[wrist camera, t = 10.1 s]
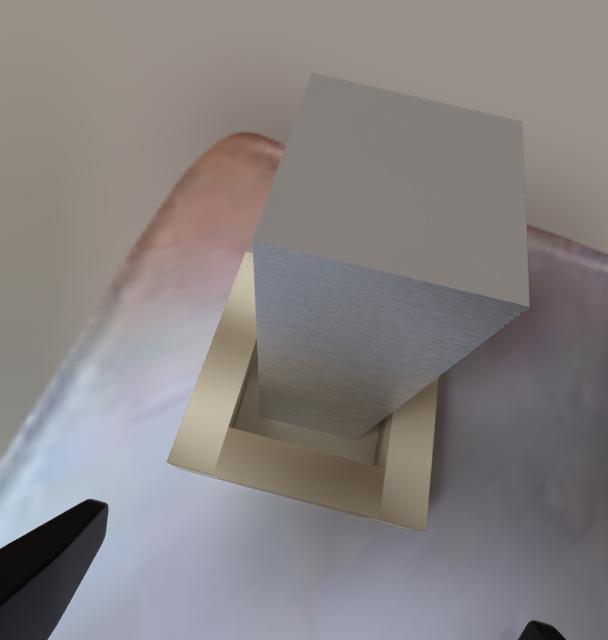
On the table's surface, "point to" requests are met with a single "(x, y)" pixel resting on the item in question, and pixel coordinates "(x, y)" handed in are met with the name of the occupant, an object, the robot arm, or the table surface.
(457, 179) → the steel bar
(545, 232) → the table surface
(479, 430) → the table surface
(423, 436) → the socket block
